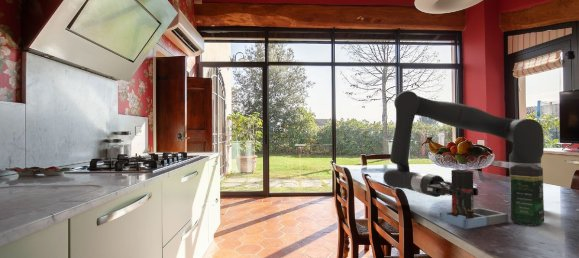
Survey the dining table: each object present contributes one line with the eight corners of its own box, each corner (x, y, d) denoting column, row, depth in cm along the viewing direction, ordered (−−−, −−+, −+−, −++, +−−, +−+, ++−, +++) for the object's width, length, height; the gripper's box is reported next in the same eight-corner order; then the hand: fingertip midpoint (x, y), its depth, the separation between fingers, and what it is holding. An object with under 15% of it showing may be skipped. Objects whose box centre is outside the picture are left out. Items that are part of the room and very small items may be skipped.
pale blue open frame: (479, 214, 103) (479, 205, 103) (507, 221, 94) (507, 211, 94) (440, 220, 97) (439, 210, 97) (466, 228, 88) (465, 217, 88)
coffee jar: (540, 228, 87) (537, 165, 88) (507, 222, 93) (505, 163, 94) (548, 222, 93) (545, 163, 94) (517, 217, 99) (515, 161, 100)
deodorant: (473, 222, 90) (472, 172, 90) (451, 219, 93) (450, 171, 94) (473, 217, 95) (473, 170, 95) (452, 214, 98) (452, 169, 99)
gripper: (411, 175, 106) (451, 182, 90) (442, 172, 110) (485, 179, 95) (411, 196, 105) (452, 207, 90) (442, 193, 110) (486, 202, 94)
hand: (469, 192), depth 92 cm, fingers closed on deodorant, 6 cm apart
